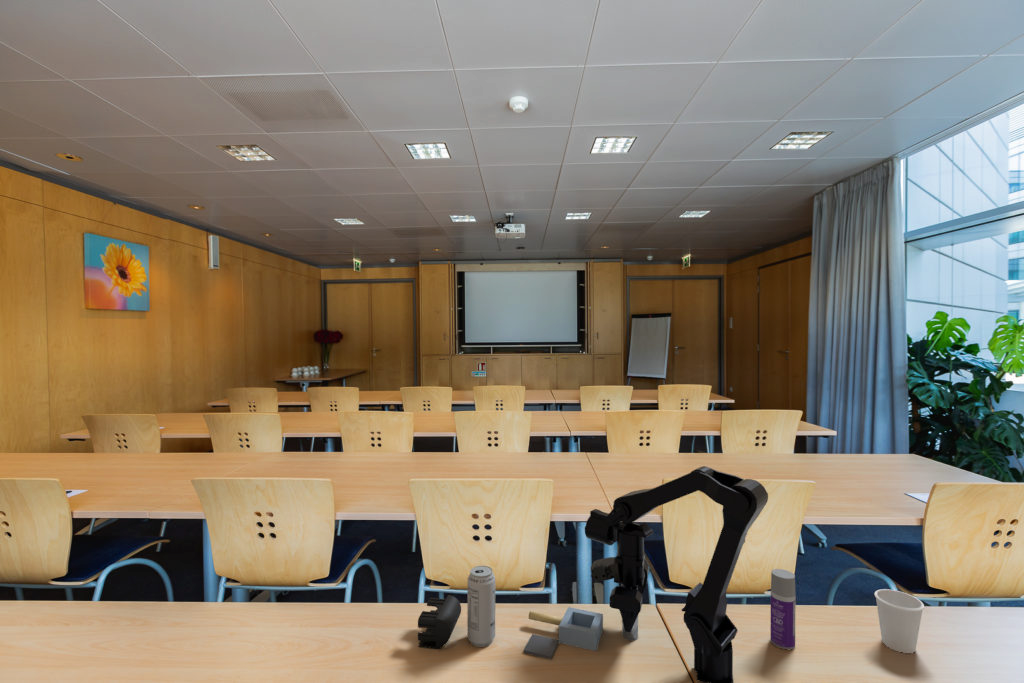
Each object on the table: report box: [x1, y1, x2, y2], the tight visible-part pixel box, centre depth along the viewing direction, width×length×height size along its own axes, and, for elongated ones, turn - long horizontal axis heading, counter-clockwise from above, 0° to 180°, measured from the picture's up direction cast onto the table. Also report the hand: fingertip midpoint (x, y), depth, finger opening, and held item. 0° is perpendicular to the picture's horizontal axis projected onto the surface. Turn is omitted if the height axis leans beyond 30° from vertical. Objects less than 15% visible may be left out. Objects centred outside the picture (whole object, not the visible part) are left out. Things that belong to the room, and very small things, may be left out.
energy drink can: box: [466, 565, 496, 648], centre depth 107 cm, size 6×6×15 cm
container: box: [770, 568, 797, 651], centre depth 106 cm, size 5×5×15 cm
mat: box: [522, 633, 560, 660], centre depth 104 cm, size 6×6×1 cm
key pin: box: [621, 616, 639, 641], centre depth 108 cm, size 3×3×9 cm
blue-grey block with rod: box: [528, 606, 604, 652], centre depth 110 cm, size 16×8×4 cm, turn 69°
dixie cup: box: [874, 588, 925, 654], centre depth 105 cm, size 8×8×10 cm
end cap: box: [417, 594, 462, 650], centre depth 108 cm, size 10×7×7 cm
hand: (630, 621), depth 108 cm, fingers open, 7 cm apart
